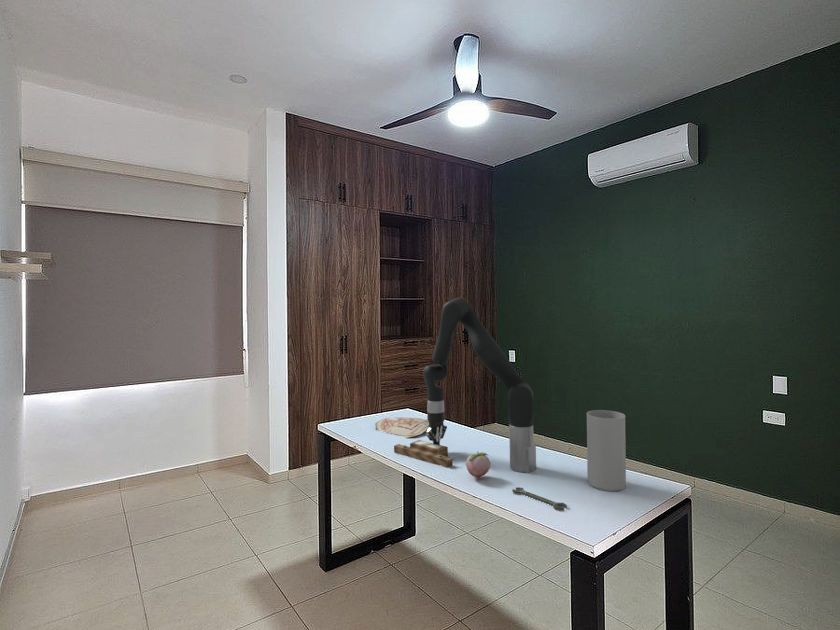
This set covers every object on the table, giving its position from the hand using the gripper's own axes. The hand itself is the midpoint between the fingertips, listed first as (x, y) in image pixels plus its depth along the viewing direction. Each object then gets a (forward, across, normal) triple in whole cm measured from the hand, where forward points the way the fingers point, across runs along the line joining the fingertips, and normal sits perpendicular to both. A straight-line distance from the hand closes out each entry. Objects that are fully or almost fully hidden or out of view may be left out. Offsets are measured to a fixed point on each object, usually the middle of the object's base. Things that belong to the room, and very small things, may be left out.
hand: (436, 449), depth 197 cm
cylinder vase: (+1, -11, +69) cm, 70 cm away
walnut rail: (+1, +10, 0) cm, 10 cm away
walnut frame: (+2, +6, 0) cm, 6 cm away
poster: (+2, -21, -37) cm, 42 cm away
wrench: (+2, +16, +56) cm, 58 cm away
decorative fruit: (+1, +13, +30) cm, 33 cm away
